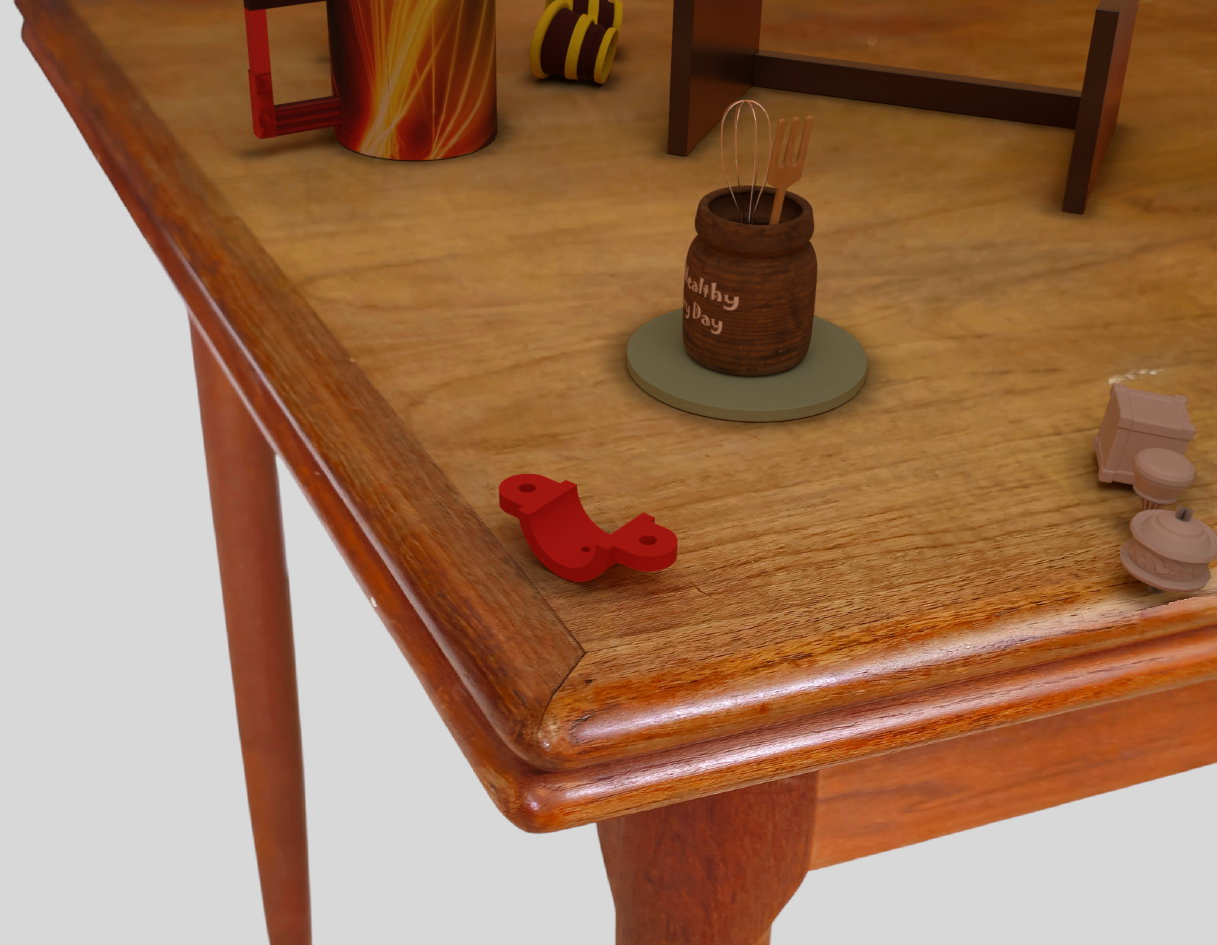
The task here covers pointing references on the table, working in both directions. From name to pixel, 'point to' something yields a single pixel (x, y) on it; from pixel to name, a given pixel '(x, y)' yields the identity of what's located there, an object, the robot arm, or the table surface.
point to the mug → (390, 77)
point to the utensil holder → (753, 268)
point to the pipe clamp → (581, 531)
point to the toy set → (1155, 488)
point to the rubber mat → (788, 395)
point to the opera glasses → (576, 39)
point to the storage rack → (890, 82)
